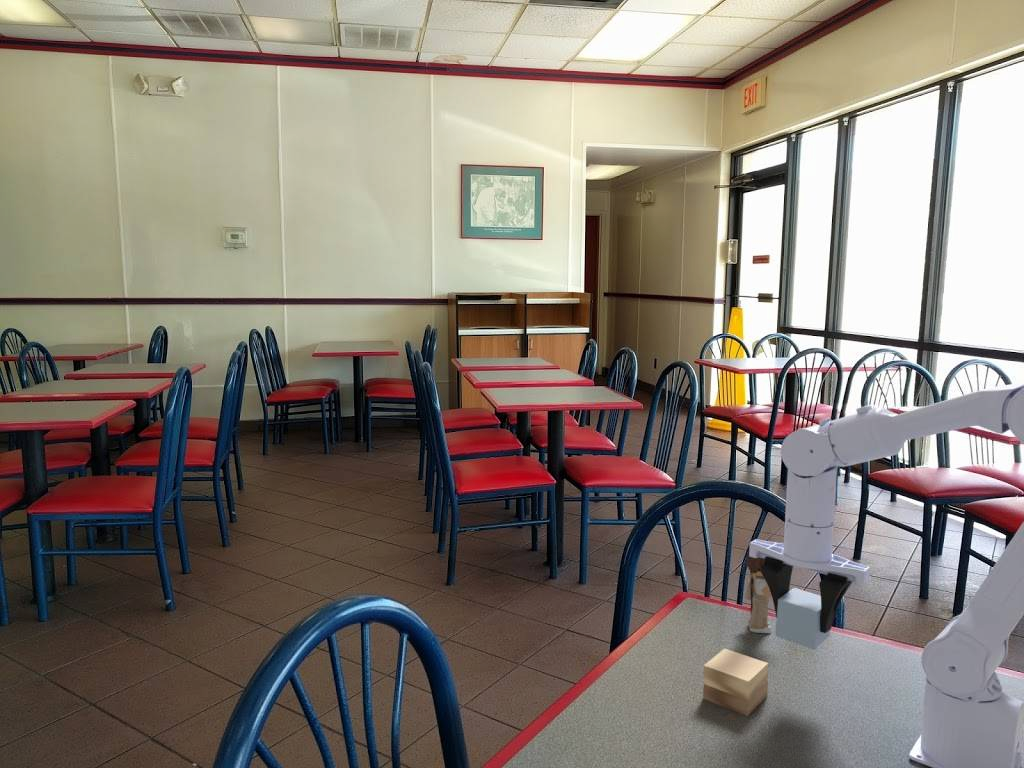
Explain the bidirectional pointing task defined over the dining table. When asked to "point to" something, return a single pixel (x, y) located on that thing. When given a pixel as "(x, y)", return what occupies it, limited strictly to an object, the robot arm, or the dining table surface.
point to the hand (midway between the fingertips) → (803, 623)
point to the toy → (758, 596)
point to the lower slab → (735, 699)
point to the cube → (800, 618)
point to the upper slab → (735, 674)
